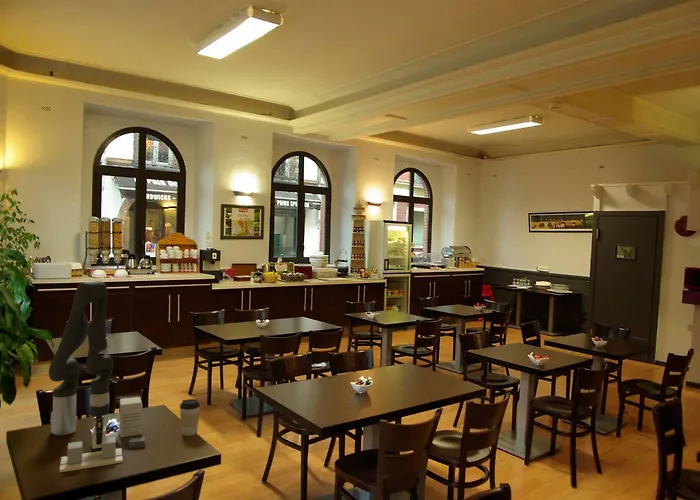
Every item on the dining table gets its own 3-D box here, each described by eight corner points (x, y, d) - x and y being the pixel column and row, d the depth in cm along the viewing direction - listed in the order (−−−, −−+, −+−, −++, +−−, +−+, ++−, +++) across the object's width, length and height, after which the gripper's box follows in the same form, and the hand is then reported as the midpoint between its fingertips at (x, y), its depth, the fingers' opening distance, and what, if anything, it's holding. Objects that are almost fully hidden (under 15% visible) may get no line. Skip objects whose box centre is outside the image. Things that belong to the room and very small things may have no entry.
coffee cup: (201, 429, 239) (202, 397, 238) (196, 436, 230) (197, 404, 229) (182, 428, 238) (183, 397, 238) (176, 436, 229) (177, 403, 229)
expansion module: (92, 448, 215) (92, 432, 214) (92, 443, 220) (92, 427, 220) (105, 446, 217) (105, 430, 217) (105, 441, 222) (105, 425, 222)
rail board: (59, 472, 193) (59, 453, 193) (61, 459, 204) (61, 441, 204) (122, 462, 203) (122, 444, 203) (121, 450, 214) (121, 433, 213)
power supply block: (128, 448, 216) (128, 441, 216) (130, 444, 220) (130, 438, 220) (143, 447, 218) (144, 440, 217) (145, 443, 221) (145, 437, 221)
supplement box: (119, 430, 234) (119, 398, 234) (140, 427, 238) (140, 396, 238) (120, 437, 226) (120, 404, 226) (141, 434, 230) (142, 402, 230)
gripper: (90, 398, 222) (89, 436, 223) (89, 409, 210) (89, 449, 210) (108, 396, 226) (108, 433, 226) (109, 406, 213) (109, 446, 214)
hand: (99, 441), depth 218 cm, fingers closed on expansion module, 6 cm apart
